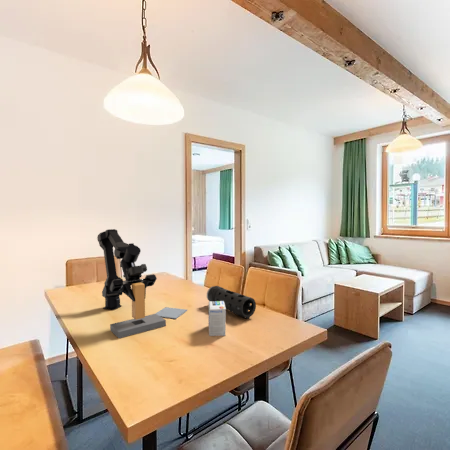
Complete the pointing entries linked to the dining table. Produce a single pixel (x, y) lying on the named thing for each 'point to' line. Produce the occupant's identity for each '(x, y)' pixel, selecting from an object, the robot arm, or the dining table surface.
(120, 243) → the robot arm
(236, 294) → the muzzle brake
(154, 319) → the grey square-hole plate
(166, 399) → the dining table surface
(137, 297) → the plug
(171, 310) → the mat
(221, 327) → the light bulb box
